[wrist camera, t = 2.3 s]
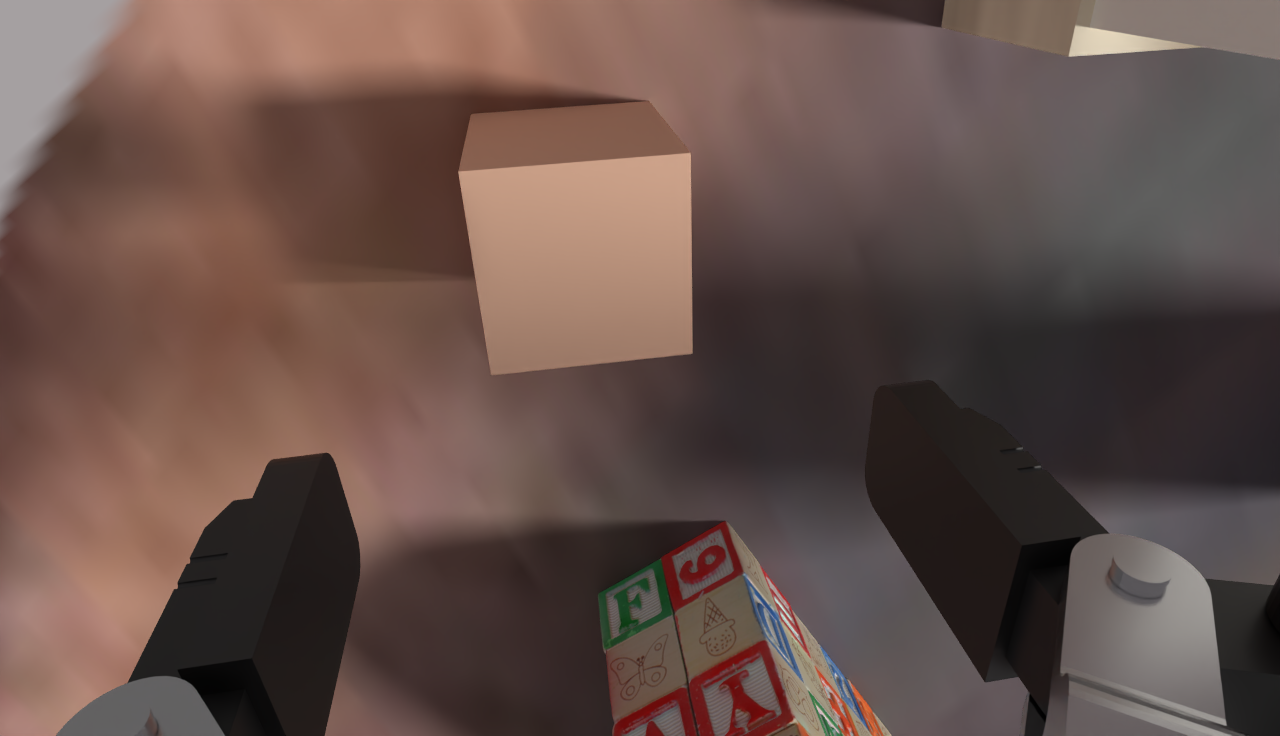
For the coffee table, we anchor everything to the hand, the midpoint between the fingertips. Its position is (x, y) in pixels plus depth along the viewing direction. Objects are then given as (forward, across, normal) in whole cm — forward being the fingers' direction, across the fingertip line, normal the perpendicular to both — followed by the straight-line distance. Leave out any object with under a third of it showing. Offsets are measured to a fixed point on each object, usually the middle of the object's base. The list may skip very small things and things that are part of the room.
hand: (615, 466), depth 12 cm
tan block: (+13, 0, 0) cm, 13 cm away
